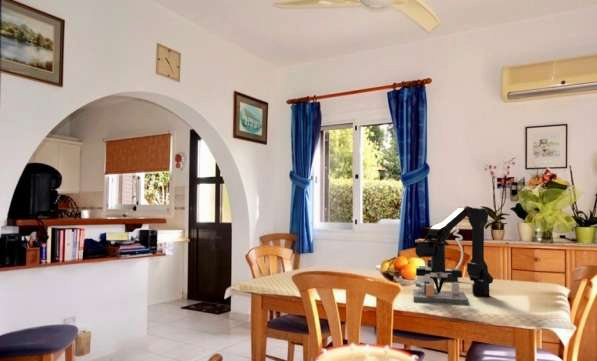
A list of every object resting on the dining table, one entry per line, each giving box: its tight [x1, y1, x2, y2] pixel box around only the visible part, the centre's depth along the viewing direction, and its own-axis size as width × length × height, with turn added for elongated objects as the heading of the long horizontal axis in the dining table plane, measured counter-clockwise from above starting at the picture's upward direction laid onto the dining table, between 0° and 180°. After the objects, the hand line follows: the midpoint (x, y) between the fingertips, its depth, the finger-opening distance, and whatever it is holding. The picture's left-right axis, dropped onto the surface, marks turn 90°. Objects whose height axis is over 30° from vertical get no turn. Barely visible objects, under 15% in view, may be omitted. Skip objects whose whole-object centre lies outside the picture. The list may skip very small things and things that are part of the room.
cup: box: [417, 263, 435, 290], centre depth 210 cm, size 9×9×12 cm
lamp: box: [436, 227, 464, 283], centre depth 236 cm, size 17×9×32 cm, turn 85°
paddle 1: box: [426, 283, 435, 297], centre depth 188 cm, size 3×3×5 cm
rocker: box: [415, 281, 438, 292], centre depth 196 cm, size 10×4×1 cm, turn 75°
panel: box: [412, 281, 469, 306], centre depth 190 cm, size 22×16×6 cm
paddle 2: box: [450, 281, 460, 294], centre depth 193 cm, size 3×3×5 cm
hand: (438, 292), depth 187 cm, fingers closed
